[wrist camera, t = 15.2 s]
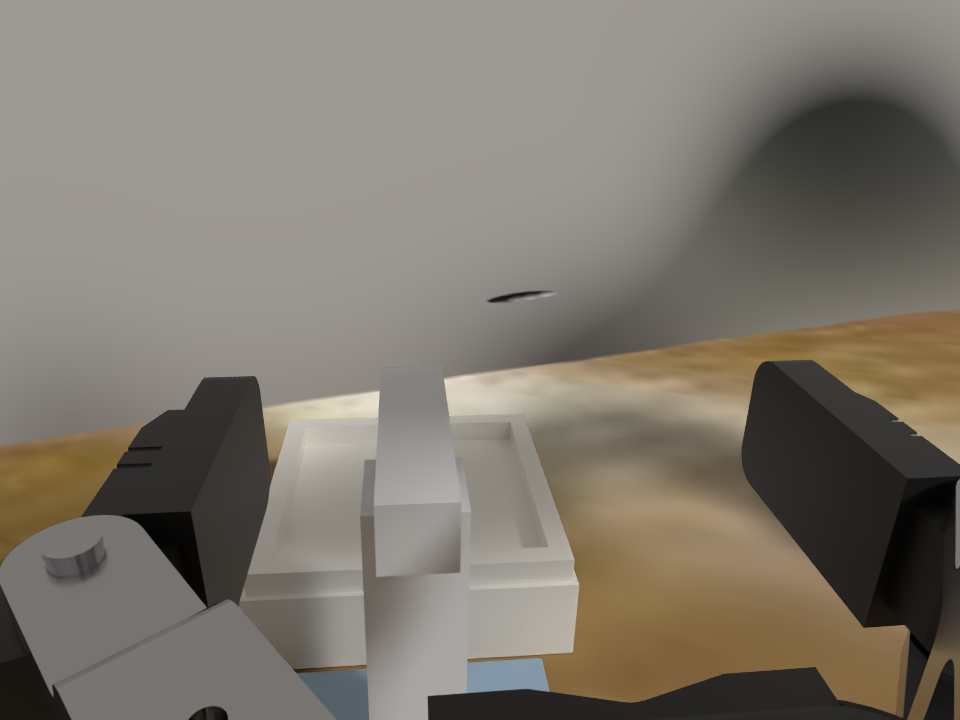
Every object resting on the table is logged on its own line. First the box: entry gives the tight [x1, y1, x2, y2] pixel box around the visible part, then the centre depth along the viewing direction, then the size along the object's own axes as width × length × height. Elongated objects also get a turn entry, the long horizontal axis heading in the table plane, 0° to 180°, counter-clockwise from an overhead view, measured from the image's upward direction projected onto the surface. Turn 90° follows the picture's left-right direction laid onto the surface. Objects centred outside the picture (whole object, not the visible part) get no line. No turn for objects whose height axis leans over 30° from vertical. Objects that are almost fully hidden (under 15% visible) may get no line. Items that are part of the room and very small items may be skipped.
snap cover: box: [297, 367, 550, 720], centre depth 23 cm, size 11×11×16 cm
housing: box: [239, 414, 579, 669], centre depth 39 cm, size 15×15×5 cm
